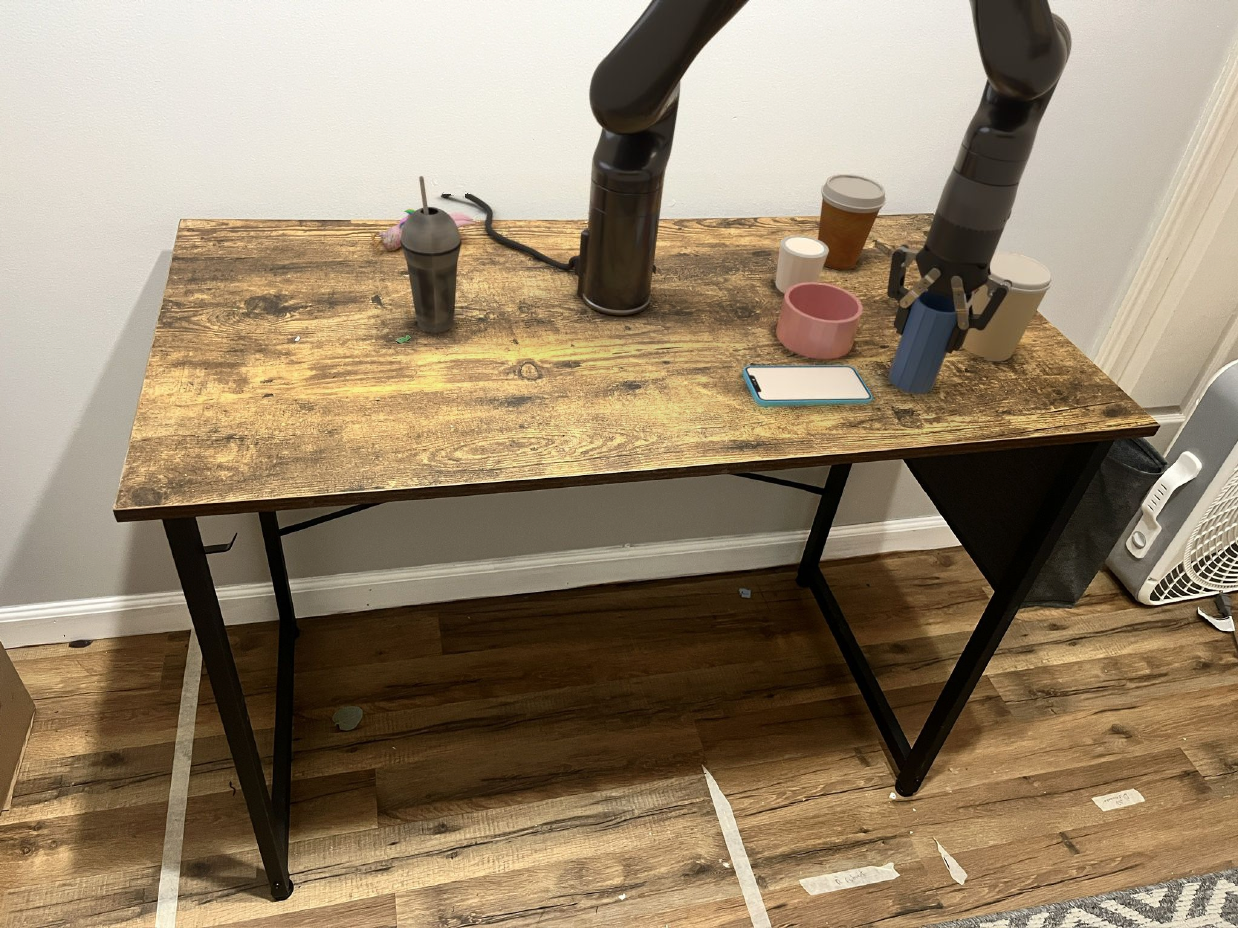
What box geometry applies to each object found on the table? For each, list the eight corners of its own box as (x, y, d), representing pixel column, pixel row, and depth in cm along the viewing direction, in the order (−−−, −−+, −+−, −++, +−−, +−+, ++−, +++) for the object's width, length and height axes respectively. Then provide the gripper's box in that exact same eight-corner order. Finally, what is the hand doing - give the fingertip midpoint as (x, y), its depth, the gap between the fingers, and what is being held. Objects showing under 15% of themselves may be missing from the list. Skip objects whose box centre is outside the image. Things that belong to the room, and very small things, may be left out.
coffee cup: (969, 320, 127) (1000, 243, 119) (1030, 349, 122) (1066, 271, 115) (936, 342, 122) (966, 263, 114) (998, 373, 117) (1034, 293, 109)
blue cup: (881, 385, 113) (909, 302, 105) (896, 366, 116) (924, 284, 109) (923, 402, 111) (955, 319, 103) (937, 382, 114) (969, 300, 106)
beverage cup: (475, 319, 116) (471, 171, 103) (443, 345, 111) (436, 192, 98) (428, 303, 118) (419, 155, 105) (395, 328, 113) (381, 176, 100)
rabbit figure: (381, 267, 127) (481, 241, 130) (370, 229, 123) (474, 204, 126) (373, 247, 131) (470, 222, 134) (362, 210, 127) (463, 185, 130)
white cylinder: (816, 305, 127) (828, 260, 122) (769, 296, 127) (778, 252, 123) (818, 282, 132) (829, 239, 127) (772, 274, 133) (782, 231, 128)
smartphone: (875, 400, 108) (759, 401, 105) (872, 408, 109) (756, 409, 106) (853, 365, 114) (741, 365, 111) (850, 372, 115) (740, 373, 112)
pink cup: (762, 342, 118) (771, 303, 114) (795, 312, 125) (804, 274, 121) (832, 371, 114) (844, 331, 110) (862, 338, 121) (874, 300, 117)
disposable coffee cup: (875, 259, 139) (897, 185, 131) (853, 282, 133) (875, 206, 125) (819, 240, 143) (837, 167, 135) (795, 261, 136) (813, 186, 129)
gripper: (899, 203, 99) (859, 332, 109) (1028, 245, 93) (973, 376, 104) (921, 183, 103) (881, 309, 114) (1045, 221, 98) (991, 349, 109)
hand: (925, 340), depth 109 cm, fingers open, 5 cm apart
